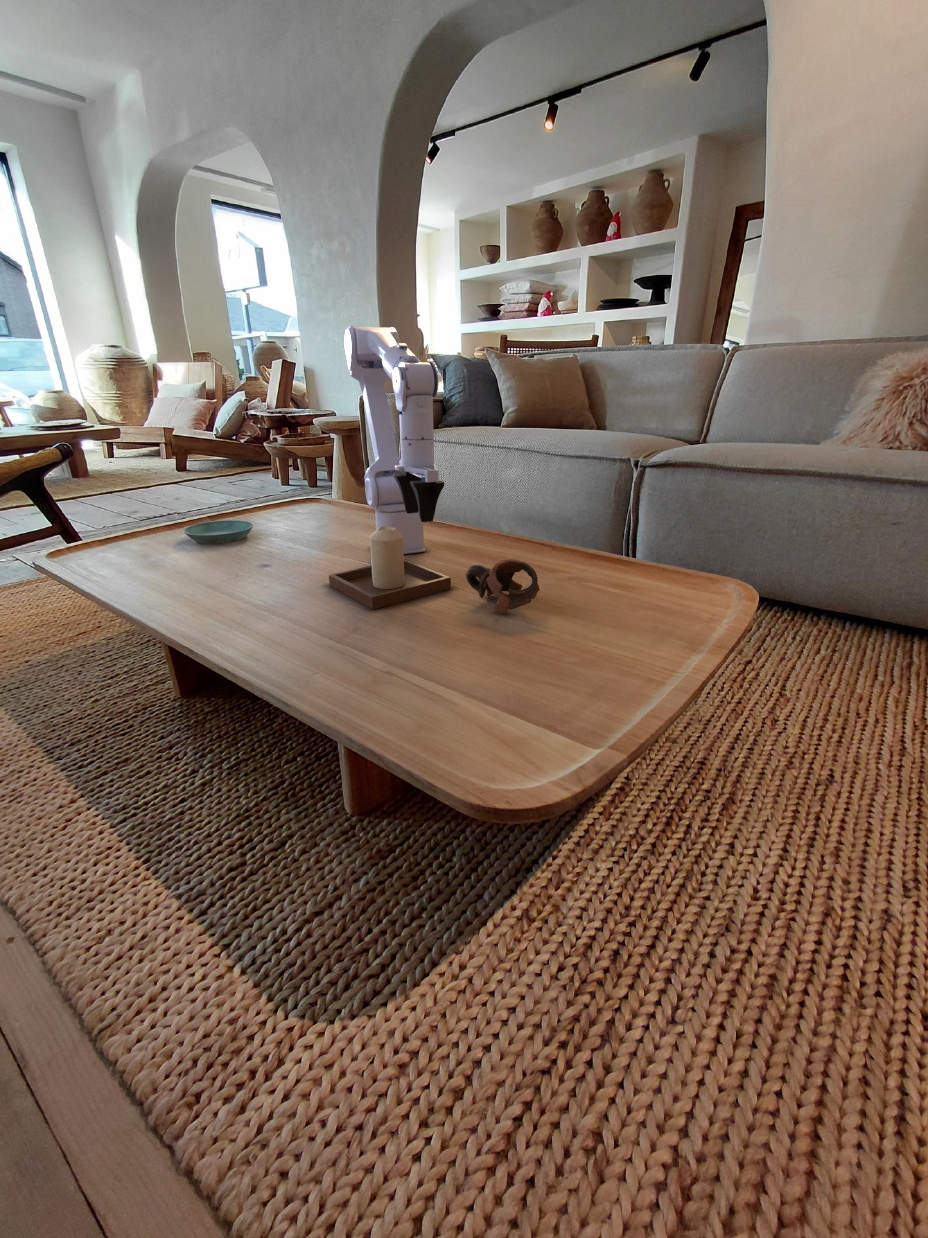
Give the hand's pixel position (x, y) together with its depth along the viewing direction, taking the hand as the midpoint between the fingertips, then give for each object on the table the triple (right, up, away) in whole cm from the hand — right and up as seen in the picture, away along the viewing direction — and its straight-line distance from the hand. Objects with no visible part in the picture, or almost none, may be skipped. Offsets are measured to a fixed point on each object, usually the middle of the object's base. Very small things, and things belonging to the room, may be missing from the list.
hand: (419, 516), depth 104 cm
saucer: (-47, 0, +27) cm, 54 cm away
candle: (-5, -13, -4) cm, 14 cm away
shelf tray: (-5, -13, -4) cm, 14 cm away
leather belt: (+14, -16, -11) cm, 24 cm away
